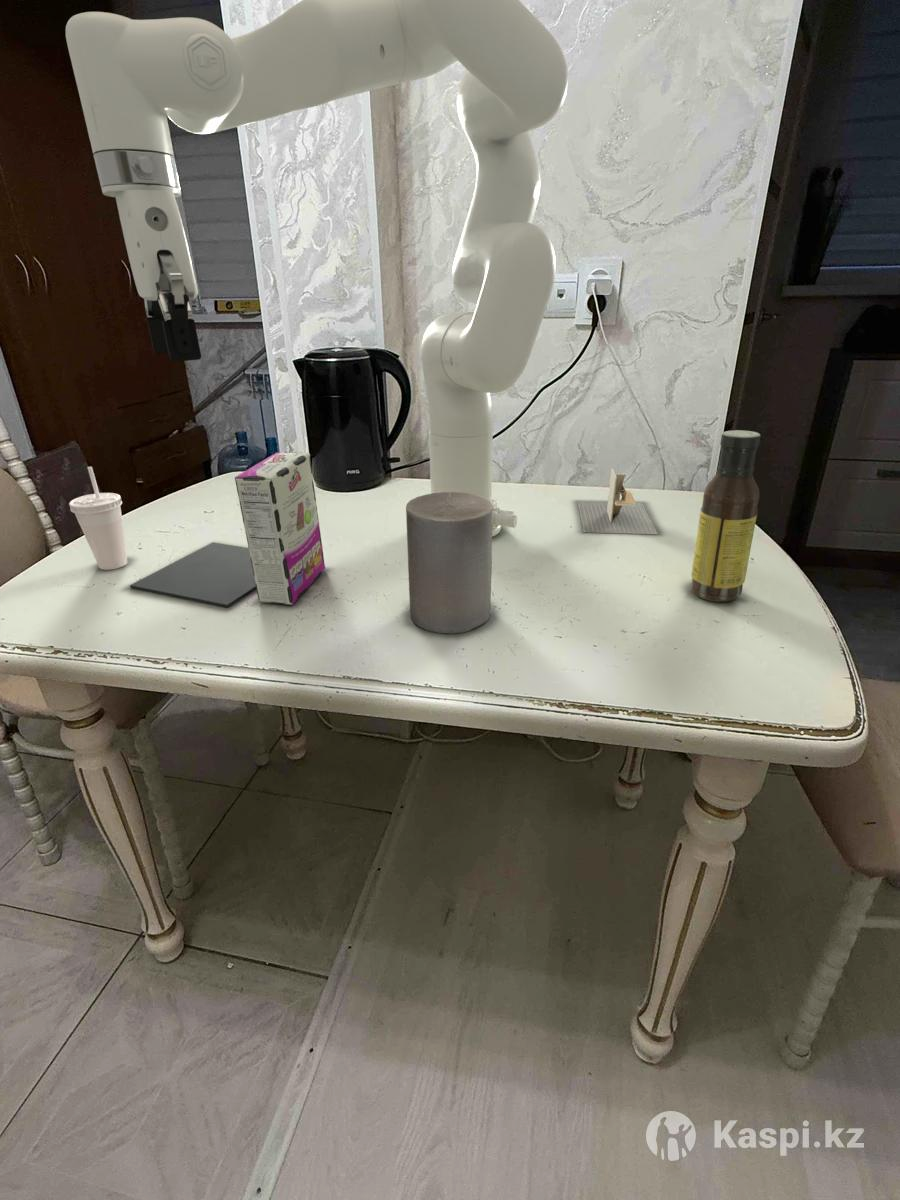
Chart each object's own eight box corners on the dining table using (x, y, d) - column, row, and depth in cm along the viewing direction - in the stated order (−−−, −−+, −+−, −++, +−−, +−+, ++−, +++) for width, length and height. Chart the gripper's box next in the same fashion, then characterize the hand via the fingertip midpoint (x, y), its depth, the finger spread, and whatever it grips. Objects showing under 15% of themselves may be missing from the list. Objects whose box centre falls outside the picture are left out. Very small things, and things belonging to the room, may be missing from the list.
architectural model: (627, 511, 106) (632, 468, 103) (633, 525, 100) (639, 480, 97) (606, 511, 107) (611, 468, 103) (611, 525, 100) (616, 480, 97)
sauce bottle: (746, 589, 79) (782, 431, 70) (733, 608, 75) (770, 442, 66) (695, 577, 83) (722, 425, 74) (680, 595, 78) (707, 435, 69)
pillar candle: (413, 595, 79) (408, 480, 72) (490, 596, 79) (492, 480, 72) (406, 634, 70) (399, 508, 64) (492, 635, 70) (495, 507, 63)
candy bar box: (292, 567, 88) (276, 450, 80) (326, 569, 87) (312, 452, 79) (255, 603, 78) (232, 475, 70) (292, 607, 77) (273, 477, 69)
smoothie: (147, 559, 91) (123, 464, 84) (109, 576, 86) (80, 477, 79) (116, 552, 93) (90, 460, 87) (78, 569, 88) (47, 471, 82)
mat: (301, 558, 90) (301, 556, 90) (227, 607, 77) (227, 604, 77) (213, 544, 96) (212, 542, 95) (130, 587, 82) (129, 585, 82)
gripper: (196, 168, 59) (230, 360, 67) (162, 189, 72) (194, 348, 80) (109, 163, 56) (155, 367, 64) (90, 187, 69) (130, 353, 77)
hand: (177, 356), depth 72 cm, fingers open, 9 cm apart
